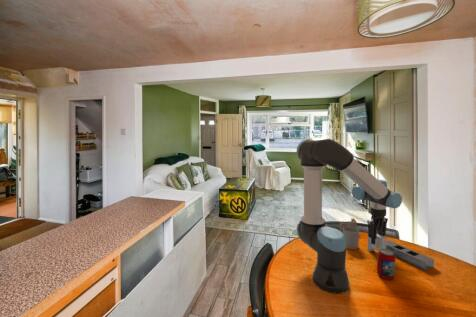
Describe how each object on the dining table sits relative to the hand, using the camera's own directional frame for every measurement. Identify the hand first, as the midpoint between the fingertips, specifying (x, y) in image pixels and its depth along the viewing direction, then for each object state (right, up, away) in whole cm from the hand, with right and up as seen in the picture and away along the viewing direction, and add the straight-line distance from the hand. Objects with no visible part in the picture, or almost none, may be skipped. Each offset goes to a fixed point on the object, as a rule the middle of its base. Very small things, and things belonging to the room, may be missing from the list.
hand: (376, 248), depth 122 cm
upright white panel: (0, -3, 0) cm, 3 cm away
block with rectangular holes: (+13, -3, -5) cm, 14 cm away
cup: (-10, -2, +9) cm, 14 cm away
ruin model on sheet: (-2, -1, +27) cm, 27 cm away
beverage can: (-9, -5, -20) cm, 22 cm away
